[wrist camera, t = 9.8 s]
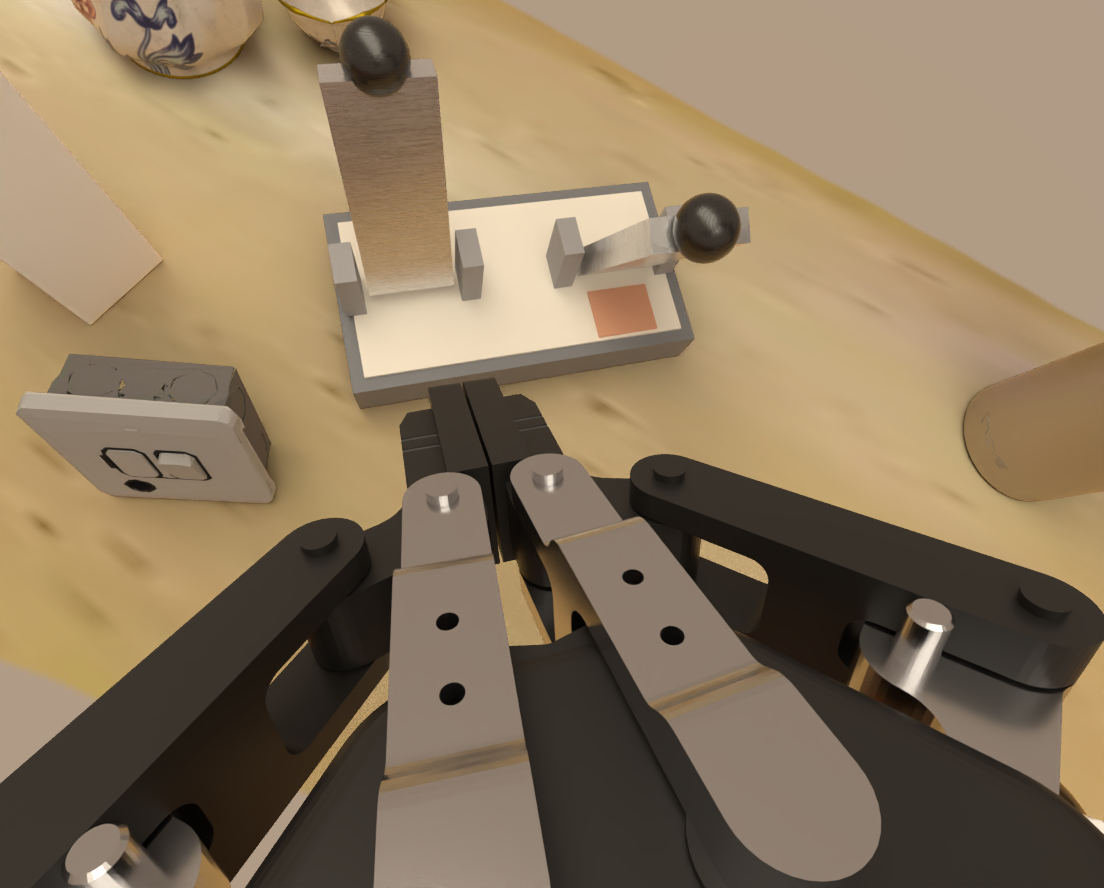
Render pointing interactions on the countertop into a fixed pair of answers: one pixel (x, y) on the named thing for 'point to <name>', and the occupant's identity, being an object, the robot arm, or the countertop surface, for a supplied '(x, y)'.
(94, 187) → the milk
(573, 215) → the switch panel
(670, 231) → the lever inner
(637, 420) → the countertop surface
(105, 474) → the electrical switch
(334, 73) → the lever outer
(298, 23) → the chinaware
